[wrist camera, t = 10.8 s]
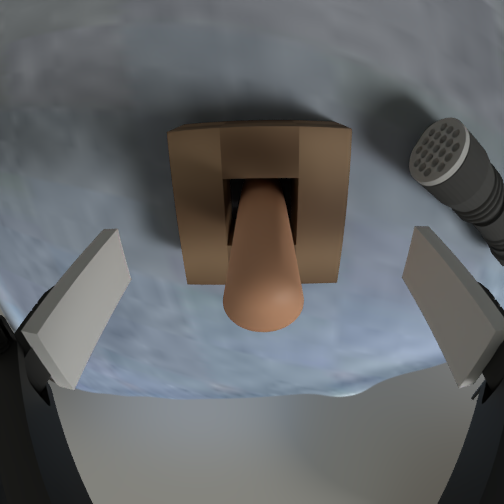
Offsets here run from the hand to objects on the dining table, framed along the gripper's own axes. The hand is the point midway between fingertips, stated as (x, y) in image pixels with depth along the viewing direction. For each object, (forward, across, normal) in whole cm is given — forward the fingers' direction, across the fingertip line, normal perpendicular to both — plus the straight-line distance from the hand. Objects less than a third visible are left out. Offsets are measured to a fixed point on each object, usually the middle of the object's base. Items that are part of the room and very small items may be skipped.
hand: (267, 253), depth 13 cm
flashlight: (+10, +18, 0) cm, 20 cm away
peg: (+9, 0, 0) cm, 9 cm away
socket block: (+9, 0, 0) cm, 9 cm away
